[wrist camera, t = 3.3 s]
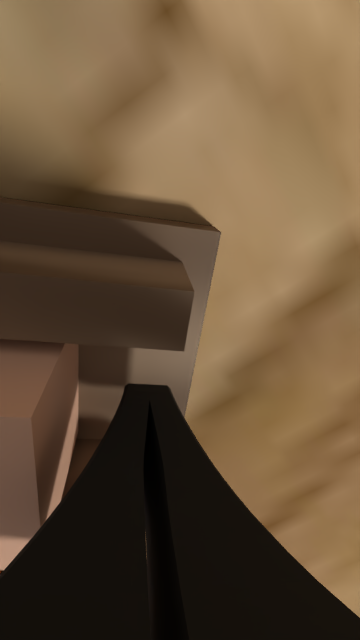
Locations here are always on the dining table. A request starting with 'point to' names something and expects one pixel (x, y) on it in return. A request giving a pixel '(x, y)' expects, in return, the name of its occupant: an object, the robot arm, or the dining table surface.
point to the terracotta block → (34, 435)
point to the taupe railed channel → (106, 301)
